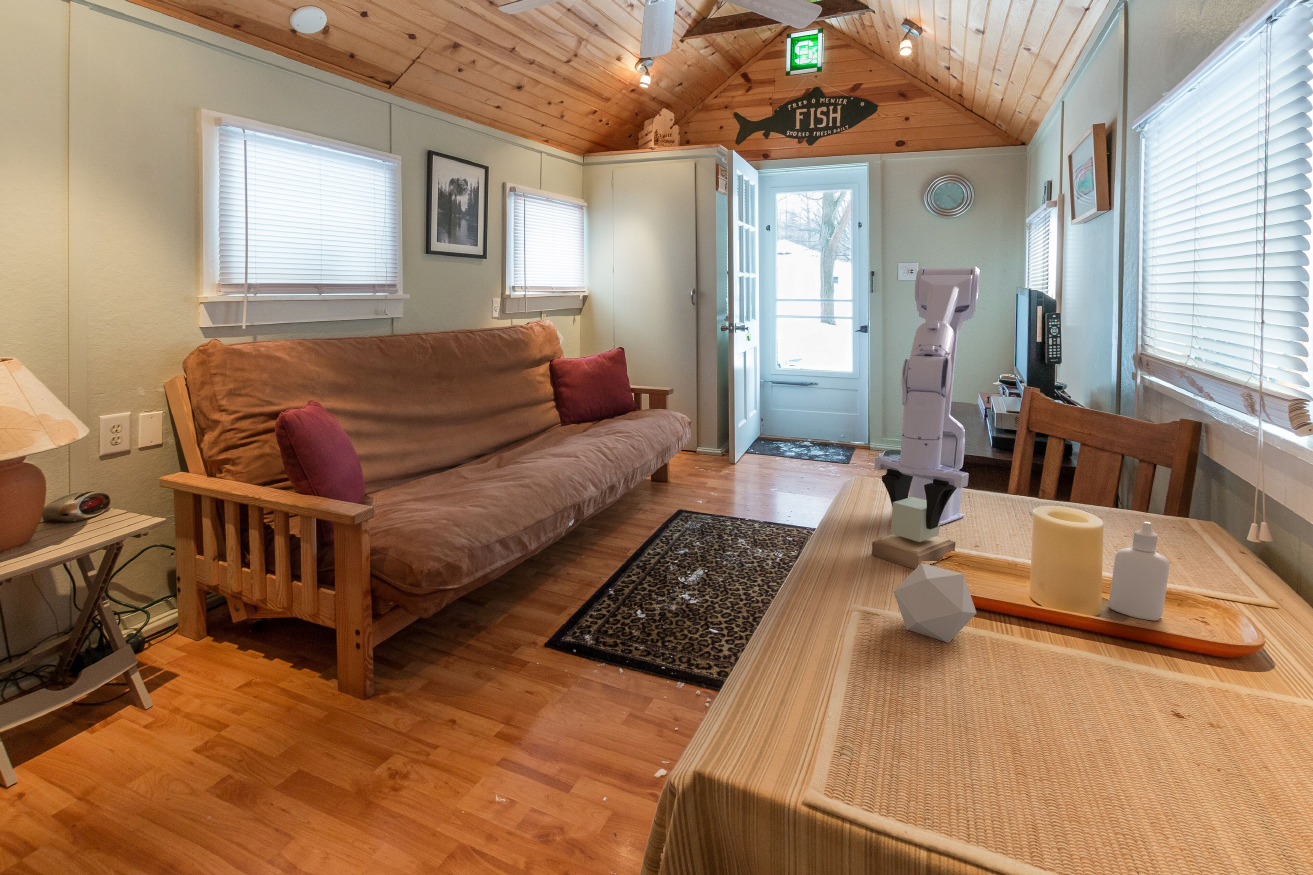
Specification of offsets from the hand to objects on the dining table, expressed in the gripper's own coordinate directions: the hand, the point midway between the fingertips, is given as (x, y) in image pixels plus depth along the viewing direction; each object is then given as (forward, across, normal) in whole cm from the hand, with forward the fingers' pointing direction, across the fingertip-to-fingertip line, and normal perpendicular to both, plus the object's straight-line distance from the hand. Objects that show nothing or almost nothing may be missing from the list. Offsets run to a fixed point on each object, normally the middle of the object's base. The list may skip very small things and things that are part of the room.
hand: (915, 523), depth 110 cm
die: (+5, +16, -21) cm, 27 cm away
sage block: (+2, 0, 0) cm, 2 cm away
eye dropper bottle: (+5, +29, +4) cm, 30 cm away
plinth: (+5, 0, 0) cm, 5 cm away
